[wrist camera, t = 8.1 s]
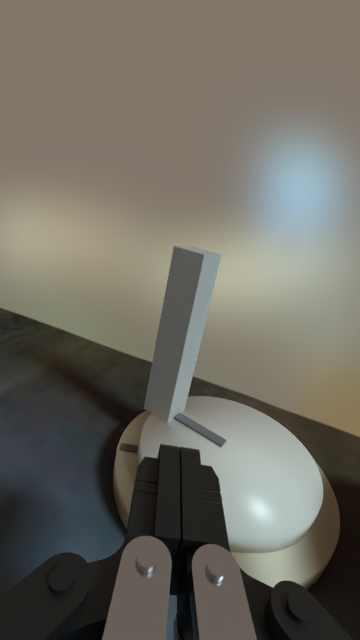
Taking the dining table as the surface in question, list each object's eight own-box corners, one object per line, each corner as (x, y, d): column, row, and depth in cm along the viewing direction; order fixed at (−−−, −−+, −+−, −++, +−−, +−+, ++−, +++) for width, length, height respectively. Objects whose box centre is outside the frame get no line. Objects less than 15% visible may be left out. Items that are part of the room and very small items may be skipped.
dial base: (83, 585, 15) (86, 563, 15) (130, 400, 31) (133, 386, 30) (385, 624, 16) (398, 604, 16) (287, 426, 32) (292, 413, 31)
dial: (90, 454, 21) (117, 243, 17) (190, 387, 32) (224, 248, 27) (287, 613, 15) (422, 337, 10) (331, 462, 25) (406, 295, 21)
